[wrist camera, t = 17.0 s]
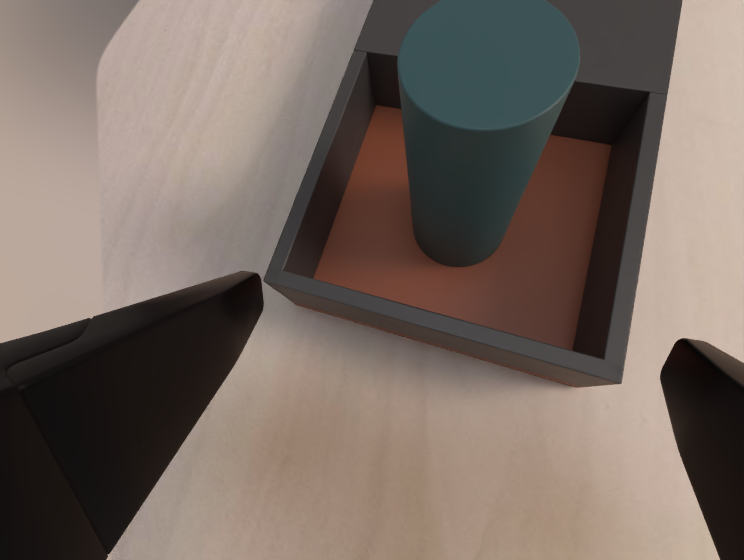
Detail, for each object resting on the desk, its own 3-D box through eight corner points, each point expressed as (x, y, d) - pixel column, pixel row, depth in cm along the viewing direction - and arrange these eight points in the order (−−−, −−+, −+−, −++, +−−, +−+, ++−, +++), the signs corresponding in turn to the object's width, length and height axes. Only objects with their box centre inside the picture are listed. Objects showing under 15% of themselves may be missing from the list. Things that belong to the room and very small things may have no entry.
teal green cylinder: (524, 229, 22) (622, 54, 11) (452, 285, 22) (476, 164, 11) (463, 168, 24) (494, -40, 13) (395, 219, 24) (362, 53, 12)
